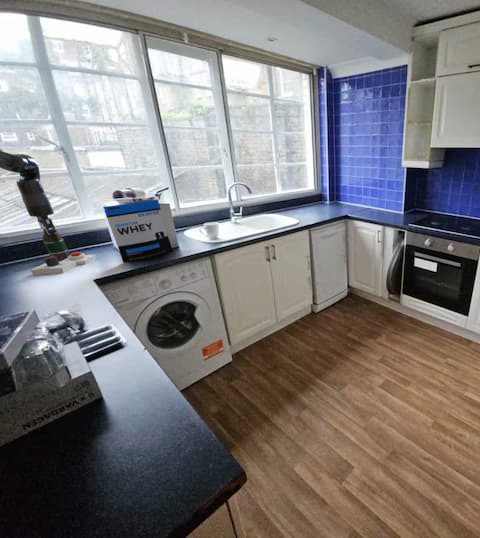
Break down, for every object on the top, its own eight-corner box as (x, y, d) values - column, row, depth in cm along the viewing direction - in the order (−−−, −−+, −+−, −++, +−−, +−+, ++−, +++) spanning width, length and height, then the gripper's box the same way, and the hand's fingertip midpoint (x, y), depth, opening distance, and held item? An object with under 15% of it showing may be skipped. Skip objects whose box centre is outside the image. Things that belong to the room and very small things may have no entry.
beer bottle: (71, 255, 170) (53, 215, 161) (70, 259, 165) (52, 217, 155) (53, 259, 166) (33, 217, 156) (51, 262, 160) (31, 219, 151)
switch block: (59, 266, 155) (56, 259, 153) (72, 260, 164) (69, 253, 162) (86, 264, 157) (83, 257, 155) (97, 257, 166) (94, 251, 164)
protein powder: (120, 261, 160) (100, 206, 148) (169, 249, 177) (154, 199, 166) (126, 264, 154) (105, 208, 143) (175, 252, 172) (161, 200, 160)
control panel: (33, 275, 144) (30, 269, 143) (48, 268, 153) (45, 262, 152) (63, 272, 146) (61, 267, 145) (77, 265, 155) (74, 260, 154)
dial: (55, 266, 147) (51, 258, 145) (45, 267, 146) (41, 259, 144) (61, 263, 151) (58, 255, 149) (51, 263, 150) (47, 256, 148)
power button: (70, 257, 157) (69, 254, 156) (74, 255, 160) (73, 252, 159) (78, 256, 158) (76, 253, 157) (82, 254, 161) (81, 251, 160)
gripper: (22, 203, 126) (38, 239, 133) (28, 207, 119) (45, 245, 125) (46, 201, 132) (60, 236, 138) (53, 204, 124) (68, 241, 130)
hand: (53, 240), depth 132 cm, fingers open, 8 cm apart
